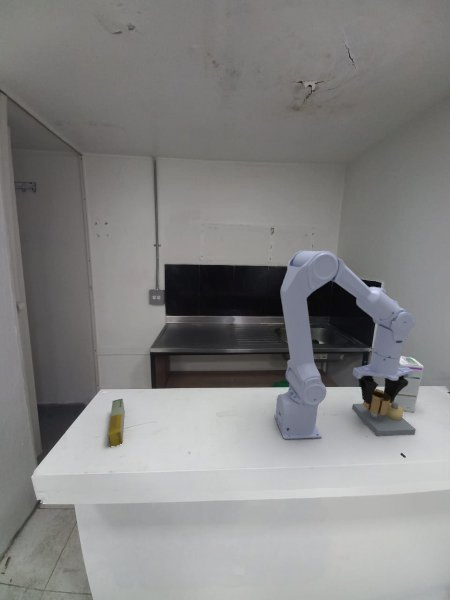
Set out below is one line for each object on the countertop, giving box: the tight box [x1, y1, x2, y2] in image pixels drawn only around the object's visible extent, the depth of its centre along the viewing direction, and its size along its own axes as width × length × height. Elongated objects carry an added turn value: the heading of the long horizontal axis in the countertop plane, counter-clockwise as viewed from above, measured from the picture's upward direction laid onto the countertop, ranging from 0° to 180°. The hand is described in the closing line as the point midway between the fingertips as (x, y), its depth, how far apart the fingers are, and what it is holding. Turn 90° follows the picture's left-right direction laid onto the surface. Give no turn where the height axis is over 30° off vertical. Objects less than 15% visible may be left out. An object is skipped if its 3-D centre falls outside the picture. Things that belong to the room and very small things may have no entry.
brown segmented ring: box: [362, 388, 391, 415], centre depth 61 cm, size 5×5×4 cm
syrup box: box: [393, 355, 425, 413], centre depth 67 cm, size 6×6×14 cm
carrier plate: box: [351, 402, 417, 437], centre depth 62 cm, size 10×10×5 cm
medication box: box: [107, 398, 126, 447], centre depth 57 cm, size 12×3×4 cm, turn 21°
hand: (376, 401), depth 61 cm, fingers closed on brown segmented ring, 5 cm apart
